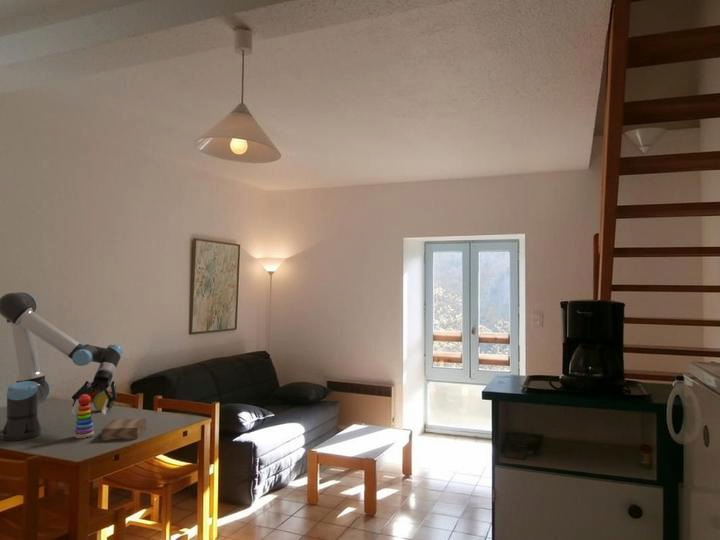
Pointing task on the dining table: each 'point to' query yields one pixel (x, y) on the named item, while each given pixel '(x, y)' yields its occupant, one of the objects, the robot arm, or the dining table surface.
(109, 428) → the walnut block
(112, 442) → the dining table surface
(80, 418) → the stacking toy
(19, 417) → the robot arm
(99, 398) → the decorative artifact
